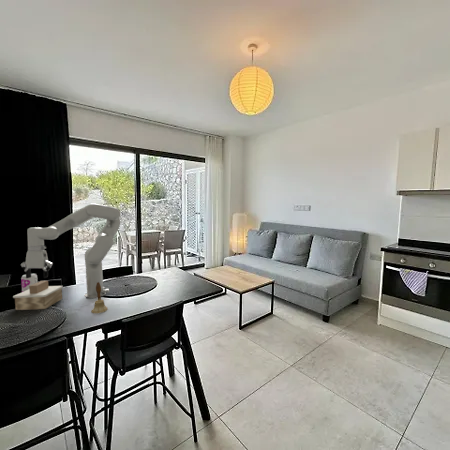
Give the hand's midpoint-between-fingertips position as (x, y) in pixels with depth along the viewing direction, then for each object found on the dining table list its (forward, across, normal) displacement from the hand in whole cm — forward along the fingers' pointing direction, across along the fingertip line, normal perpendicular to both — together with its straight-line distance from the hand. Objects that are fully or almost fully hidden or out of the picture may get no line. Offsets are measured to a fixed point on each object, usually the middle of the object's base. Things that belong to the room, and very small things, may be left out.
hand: (37, 277), depth 147 cm
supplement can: (+17, +15, -16) cm, 28 cm away
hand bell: (+16, -40, +10) cm, 44 cm away
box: (+17, -1, 0) cm, 17 cm away
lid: (+9, -1, 0) cm, 9 cm away
